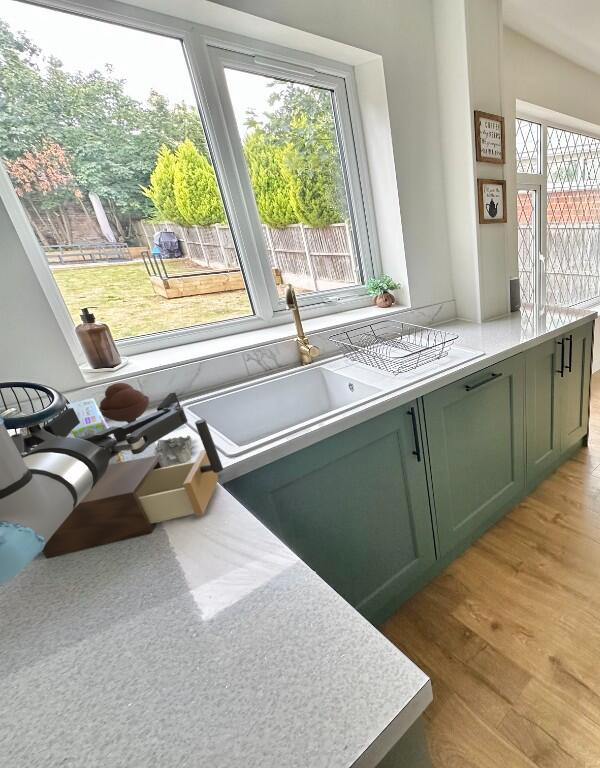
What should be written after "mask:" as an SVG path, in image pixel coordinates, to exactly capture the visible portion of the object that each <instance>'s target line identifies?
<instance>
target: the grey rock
mask: <svg viewBox="0 0 600 768" xmlns="http://www.w3.org/2000/svg"><path fill="white" fill-rule="evenodd" d="M192 447H193V448H194V445H193V443H192V437H191V435H186V437H183V436H182V435H181V436H179V437H173V438H168V439H159V440H157V444H156V445H155V447H154V451H153V453H152V455H151V456H156V455H159V457H160V460H161V462H162V465H163V467H169V466H173V465H175V464H178V463H179V464H184V463H187V462H188V461H189V460H191V459H192V453H193V451H192V449H193V448H192ZM190 453H191V454H190Z"/></svg>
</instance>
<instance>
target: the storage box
mask: <svg viewBox="0 0 600 768" xmlns="http://www.w3.org/2000/svg"><path fill="white" fill-rule="evenodd" d="M159 468H164V467H163V465H162V462H161V460H160V457H159V455H156V456H152V455H151V456H146V457H141V458H136V459H131V460H127V461H123V462H120V463H114V464H109V465H108V467H107V470H106V472H105V474H104V475H103V476H102V478H101V479H100V480H99V481H98V482H97V484H96V485H95V486H94V487H93V488H92V489H91V490H90V491H89V492H88V493H87V495H86V496H85V497H84V498H83V499H82V500H81V502H80V503H79V504H78V505H77V506H76V507H75V509H74V510H73V511H72V513H71V514H70V515H69V516H68V517H67V518H66V519H65V521H64V522H63V523H62V524H61V525H60V527H59V528H58V529H57V530H56V531H55V533H54V534H53V535H52V536H51V538H50V539H49V540H48V542H47V543H46V544H45V546H44V548H43V550H42V551H41V553H42V555H44V557H45V559H51V558H52V559H53V558H56V557H59V556H65V555H69V554H72V553H77V552H80V551H85V550H90V549H92V548H96V547H100V546H105V545H109V544H114V543H117V542H121V541H122V542H123V541H126V540H129V539H133V538H134V539H135V538H139V537H142V536H147V535H150V534H153V532H154V530H155V528H156V527H157V525H158V523H159V522H156V523H152V524H151V523H150V521H149V519H148V517H147V515H146V513H145V511H144V509H143V507H142V505H141V502H140V500H139V498H138V496H137V494H136V493H137V491H138V490H139V489H140V487H141V486H142V484H143V483H144V481H145V480H146V478H147V477H148V476H149V474H150V473H151V471H152V470H154V469H159Z"/></svg>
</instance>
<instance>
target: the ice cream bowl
mask: <svg viewBox="0 0 600 768" xmlns="http://www.w3.org/2000/svg"><path fill="white" fill-rule="evenodd" d="M104 396H105V397H104V398H103V399H102V400H101V401H100V403H99V406H98V408H99V410H100V412H101V414H102V416H103V417H104V418H106V419H109V420H111V421H114V422H118V423H119V422H121V423H122V422H123V423H124V422H126V424H129V423H131V422H134V421H136V420H137V419H139V418H140V417H141V416H142V415H144V414H145V412H146V410H147V409H148V407H149V405H150V398H149V397H150V396H148V395H145V394H144V393H143V392H142V391H140V390H138V389H135V388H134V387H133V386H132V385H131V384H128V383H125V382H115V383H113V384H111V385H108V386H107V388H106V390H105V391H104Z"/></svg>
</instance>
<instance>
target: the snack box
mask: <svg viewBox="0 0 600 768" xmlns="http://www.w3.org/2000/svg"><path fill="white" fill-rule="evenodd" d="M69 408H73V409H74V411H75V413H76V415H77V417H78V419H79V421H80V423H79V424H78V425H77V426H76V427H75V428H74V429H72V430H71V431H70V432H71V433H72V435H73V437H74V438H76V437H83V436H86V435H89V434H92V433H94V434H96V433H98V432H101V431H103V430H106V429H108V428H110V427H109V425H108V423H107V422H106V420H105V417H104V416H103V415H102V414H101V412H100V410H99V406H98V404H97V402H96V400H95V398H94V397H91V398H87V399H83V400H79V401H75V402H72V403H68V404H67V409H69ZM109 436H110V437H112V438H113V439H115V436H114V434H111V435H109ZM120 462H124V459H123V456H122V454H121V452H119V453H118V454H117V455H116V456H114V457H112V458H111V459H110V460H109V464H114V463H120ZM109 464H108V465H109Z"/></svg>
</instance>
